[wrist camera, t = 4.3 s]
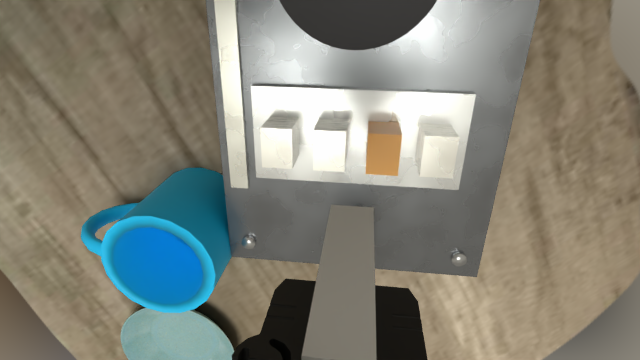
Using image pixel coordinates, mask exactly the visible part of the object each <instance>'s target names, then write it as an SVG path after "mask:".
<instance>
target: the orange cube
mask: <svg viewBox="0 0 640 360" xmlns="http://www.w3.org/2000/svg"><path fill="white" fill-rule="evenodd" d="M401 142H402V132H401V128H400V124H399V123H398V122H376V121H368V135H367V149H366V174H372V175H389V176H398V170H399V160H400V151H401Z"/></svg>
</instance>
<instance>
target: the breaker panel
mask: <svg viewBox="0 0 640 360" xmlns="http://www.w3.org/2000/svg"><path fill="white" fill-rule="evenodd" d="M539 2H540V0H437V1H436V3H435V5H434V6H433V8H432V9H431V10H430V12H429V13H428V14H427V16H426V17H425V18H424V19H423V20H422V21H421V22H420V23H419V24H418V25H417V26H416V27H414V28H413V29H412V30H411V31H410V32H408V33H407V34H405V35H404V36H402V37H401V38H399V39H397V40H395V41H393V42H391V43H389V44H387V45H383V46H380V47H377V48H373V49H367V50H345V49H339V48H335V47H331V46H329V45H326V44H324V43H321V42H319V41H318V40H316V39H314V38H312V37H311V36H309V35H308V34H307V33H305V32H304V31H303V30H302V29H301V28H300V27H299V26H298V25H296V24H295V23H294V21H293V20H292V19H291V18H290V16H289V15H288V14H287V12H286V11H285V9H284V8H283V6H282V4H281V3H280V1H279V0H206V8H207V18H208V28H209V38H210V48H211V58H212V69H213V79H214V89H215V99H216V109H217V119H218V129H219V139H220V149H221V159H222V169H223V179H224V189H225V200H226V210H227V220H228V230H229V240H230V250H231V257H243V258H255V259H267V260H279V261H291V262H303V263H315V264H320V259H321V254H322V249H323V244H324V239H325V233H326V228H327V223H328V218H329V213H330V208H331V205H344V206H359V207H373V208H374V255H375V269H387V270H399V271H411V272H423V273H435V274H447V275H459V276H472V277H477V273H478V269H479V265H480V260H481V256H482V252H483V247H484V243H485V238H486V234H487V230H488V225H489V221H490V217H491V212H492V208H493V203H494V199H495V195H496V190H497V186H498V182H499V177H500V173H501V169H502V164H503V160H504V155H505V151H506V147H507V142H508V138H509V134H510V129H511V125H512V120H513V116H514V112H515V107H516V103H517V99H518V94H519V90H520V86H521V81H522V77H523V72H524V68H525V64H526V59H527V55H528V51H529V46H530V42H531V37H532V33H533V29H534V24H535V20H536V16H537V11H538V7H539ZM368 121H376V122H398V123H399V124H400V128H401V132H402V142H401V151H400V160H399V170H398V176H389V175H372V174H366V149H367V135H368Z"/></svg>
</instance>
